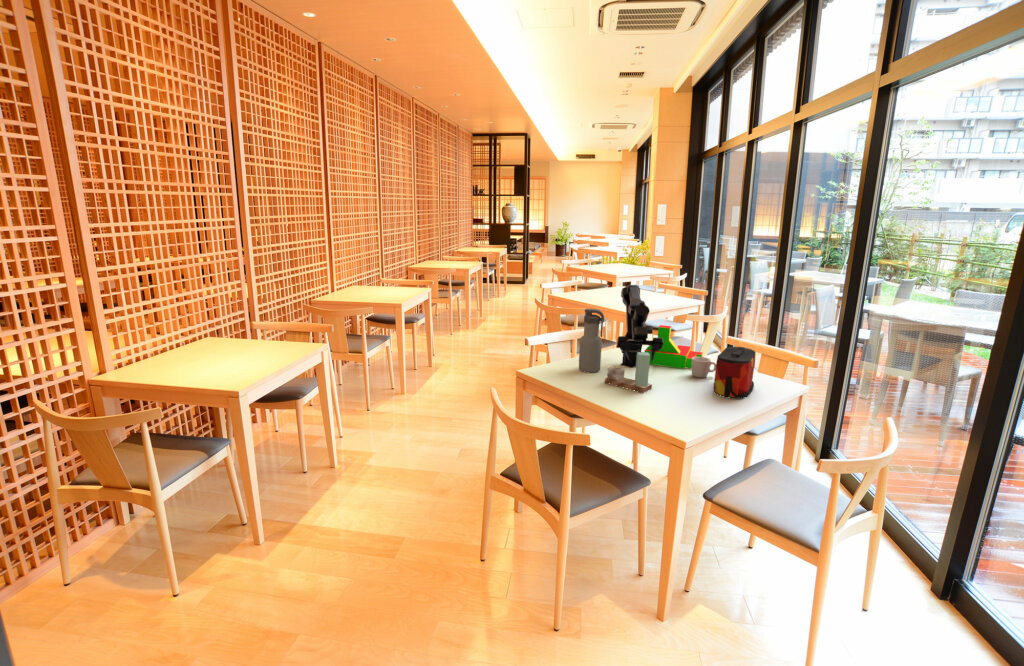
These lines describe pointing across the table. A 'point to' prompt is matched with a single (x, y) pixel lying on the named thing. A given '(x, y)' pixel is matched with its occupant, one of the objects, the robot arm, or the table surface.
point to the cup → (701, 366)
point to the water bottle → (591, 342)
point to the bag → (734, 372)
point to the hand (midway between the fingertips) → (640, 360)
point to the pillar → (642, 369)
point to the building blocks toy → (672, 351)
